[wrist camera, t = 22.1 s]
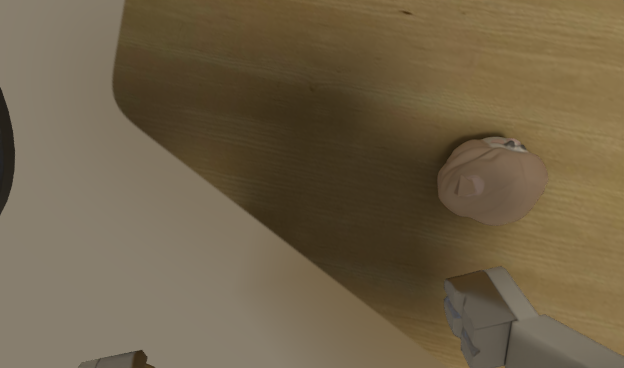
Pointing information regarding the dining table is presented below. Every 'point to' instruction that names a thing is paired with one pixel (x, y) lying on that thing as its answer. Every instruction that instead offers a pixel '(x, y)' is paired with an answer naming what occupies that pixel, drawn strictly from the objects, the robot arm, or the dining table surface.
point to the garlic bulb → (492, 180)
